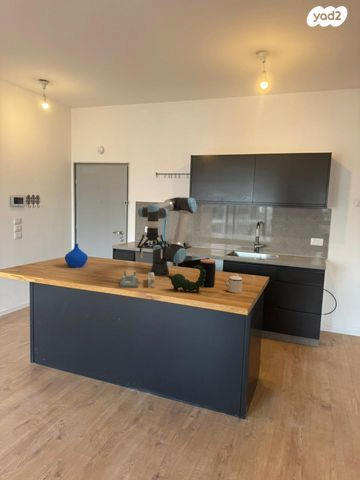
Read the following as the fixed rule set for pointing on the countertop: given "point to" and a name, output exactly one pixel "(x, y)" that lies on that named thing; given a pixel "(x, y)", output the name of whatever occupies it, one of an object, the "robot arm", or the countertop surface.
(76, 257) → the vase
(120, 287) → the base board
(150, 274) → the slat
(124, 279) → the front end cap
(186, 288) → the toy figurine
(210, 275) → the coffee jar
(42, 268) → the countertop surface
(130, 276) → the back end cap
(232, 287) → the teacup with lid
